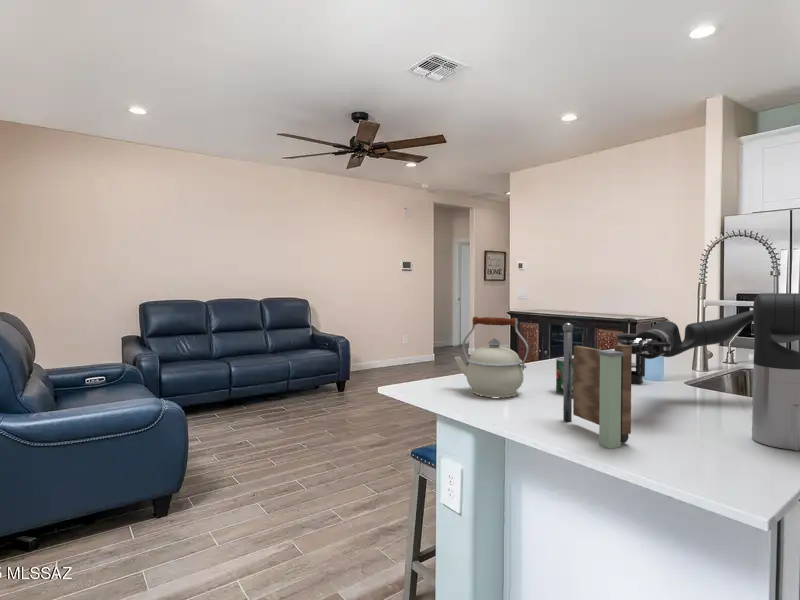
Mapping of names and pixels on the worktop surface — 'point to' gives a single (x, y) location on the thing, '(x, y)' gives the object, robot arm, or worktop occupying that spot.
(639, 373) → the french press
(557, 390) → the canned tomato
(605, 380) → the post
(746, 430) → the worktop surface
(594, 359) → the gate
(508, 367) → the kettle
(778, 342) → the robot arm
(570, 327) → the hinge post
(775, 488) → the worktop surface
